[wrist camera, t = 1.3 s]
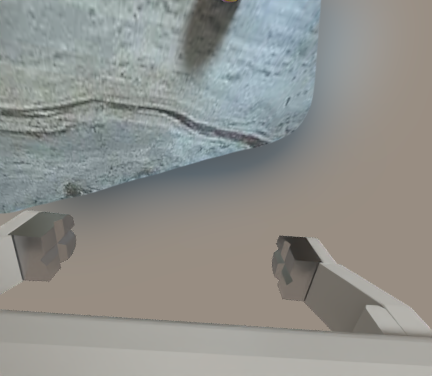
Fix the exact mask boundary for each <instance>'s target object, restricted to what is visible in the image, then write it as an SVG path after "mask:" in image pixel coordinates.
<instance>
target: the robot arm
mask: <svg viewBox="0 0 432 376" xmlns="http://www.w3.org/2000/svg"><path fill="white" fill-rule="evenodd" d="M73 226H74V221H73V217H72V216H71V215H67V214H58V213H50V212H41V211H24V212H22V213H21V214H19V215H18V216H16V217H15V218H13V219H12V220H10V221H9V222H7V223H5V224H4V225H2V226H1V227H0V294H2V293H4V292H5V291H7V290H9V289H11V288H12V287H14V286H16V285H17V284H19V283H21V282H23V280H29V281H50V280H51V279H52V278H53V277H54V275H55V274H56V273H57V272H58V271H59V269H60V268H61V266H60V263H61V262H64V261H66V260H68V259H69V258H70V256H71V255H72V254H73V251H74V249H75V246H76V236H75V234H74V233H73V232H72V230H71V229H72V227H73ZM276 244H277V247H278V250H277V251H276V252H274V255H273V259H272V268H273V274H274V276H275V277H276V278H277V279H278V280H279V282H278V288H279V291H280V293H281V296H282V299H286V300H296V301H305V304H306V305H307V306H308V307H309V308H310V309H311V310H312V311H313V312H314V313H315V314H316V315H317V316H318V317H319V318H320V319H321V320H322V321H323V322H324V323H325V324H326V325H327V326H328V327H329V328H330V329H331V331H319V330H302V329H287V328H273V327H258V326H243V325H229V324H214V323H197V322H184V321H168V320H153V319H152V320H151V319H137V318H122V317H106V316H91V315H75V314H60V313H45V312H29V311H14V310H0V376H432V330H431V329H430V328H429V326H428V325H427V324H426V323H425V322H424V321H423V320H422V319H421V318H420V317H419V316H418V315H417V314H416V313H415V311H414V310H413V309H412V308H411V307H409V306H408V305H406V304H405V303H403V302H401V301H400V300H398V299H396V298H395V297H393V296H391V295H390V294H388V293H386V292H385V291H383V290H382V289H380V288H378V287H377V286H375V285H373V284H372V283H370V282H369V281H367V280H365V279H364V278H362V277H360V276H359V275H357V274H356V273H354V272H352V271H351V270H349V269H347V268H346V267H344V266H342V265H340V264H336V262H335V261H334V259H333V258H332V257H331V256H330V254H329V253H328V251H327V250H326V249H325V247H324V246H323V245H322V243H321V242H320V241H319V239H317V238H310V237H293V236H279V238H278V240H277V243H276Z"/></svg>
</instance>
